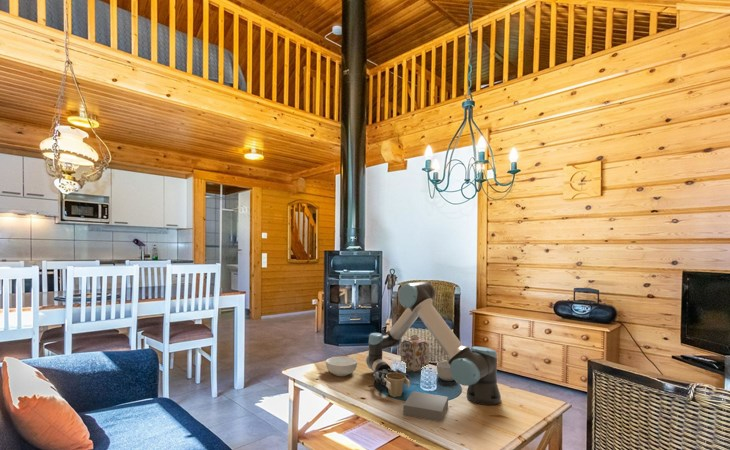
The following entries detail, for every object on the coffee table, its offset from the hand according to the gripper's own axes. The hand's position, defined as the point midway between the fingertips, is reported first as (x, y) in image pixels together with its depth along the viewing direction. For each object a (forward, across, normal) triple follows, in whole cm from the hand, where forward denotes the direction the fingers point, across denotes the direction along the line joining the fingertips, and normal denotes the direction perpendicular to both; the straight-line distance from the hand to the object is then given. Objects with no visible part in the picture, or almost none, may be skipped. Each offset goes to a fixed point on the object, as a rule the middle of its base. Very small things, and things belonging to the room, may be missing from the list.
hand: (399, 384), depth 176 cm
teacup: (-17, -35, -6) cm, 39 cm away
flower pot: (-5, 0, -6) cm, 8 cm away
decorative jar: (-37, -26, -6) cm, 46 cm away
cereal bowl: (-39, +17, -6) cm, 43 cm away
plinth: (+15, -6, -6) cm, 17 cm away
